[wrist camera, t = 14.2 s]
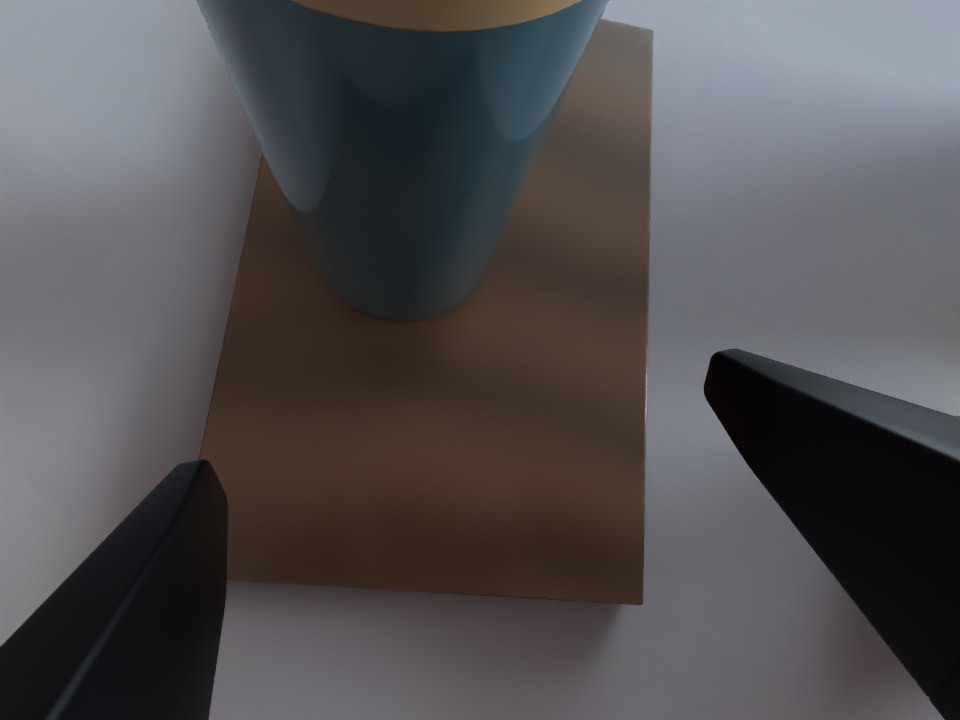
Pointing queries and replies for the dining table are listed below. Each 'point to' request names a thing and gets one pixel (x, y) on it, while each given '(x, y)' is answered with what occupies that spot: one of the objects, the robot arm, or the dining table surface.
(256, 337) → the board
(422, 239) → the canister
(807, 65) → the dining table surface
